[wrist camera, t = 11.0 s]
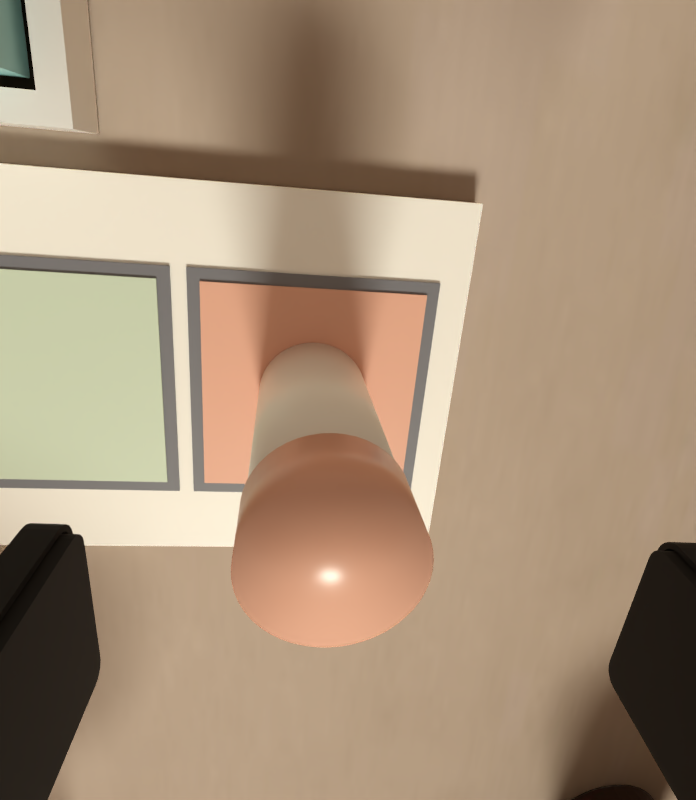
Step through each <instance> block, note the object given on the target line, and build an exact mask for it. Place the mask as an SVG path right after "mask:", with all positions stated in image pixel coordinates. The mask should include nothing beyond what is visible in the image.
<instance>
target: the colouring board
mask: <svg viewBox="0 0 696 800" xmlns="http://www.w3.org/2000/svg"><path fill="white" fill-rule="evenodd" d="M482 207H483V204H481V203H474V202H462V201H450V200H438V199H426V198H414V197H402V196H390V195H378V194H366V193H354V192H342V191H330V190H318V189H306V188H294V187H282V186H270V185H258V184H246V183H234V182H222V181H210V180H198V179H186V178H174V177H162V176H150V175H138V174H126V173H114V172H102V171H90V170H78V169H66V168H54V167H42V166H30V165H18V164H6V163H0V545H9V543H10V542H11V541H12V540H13V538H14V537H15V536H16V535H17V533H18V532H19V531H20V530H21V529H22V528H23V527H24V526H25V525H26V524H29V523H42V524H67V525H69V526H70V527H71V529H72V532H73V534H80V535H81V536H82V537H83V540H84V545H85V546H228V547H234V541H235V534H236V527H237V520H238V513H239V506H240V499H241V495H242V491H243V488H244V486H245V483H246V481H247V479H248V473H249V466H250V458H251V450H252V442H253V434H254V426H255V418H256V410H257V403H258V395H259V387H260V382H261V378H262V375H263V373H264V371H265V369H266V367H267V366H268V365H269V363H270V362H271V361H272V360H273V359H274V358H275V357H276V356H277V355H278V354H279V353H281V352H282V351H284V350H286V349H287V348H290V347H292V346H295V345H298V344H302V343H323V344H328V345H331V346H333V347H336V348H338V349H340V350H342V351H343V352H345V353H346V354H347V355H348V356H349V357H351V358H352V359H353V361H354V362H355V363H356V364H357V366H358V368H359V369H360V371H361V374H362V376H363V379H364V381H365V384H366V387H367V389H368V392H369V395H370V397H371V400H372V402H373V405H374V408H375V410H376V413H377V415H378V418H379V421H380V423H381V426H382V429H383V431H384V434H385V436H386V439H387V442H388V444H389V447H390V449H391V452H392V455H393V457H394V460H395V461H396V462H397V463H398V465H399V466H400V467H401V469H402V471H403V472H404V474H405V476H406V479H407V481H408V484H409V486H410V489H411V491H412V494H413V496H414V499H415V501H416V504H417V506H418V509H419V511H420V514H421V516H422V519H423V521H424V524H425V526H426V529H427V531H428V534H429V528H430V522H431V516H432V510H433V504H434V498H435V492H436V486H437V480H438V474H439V468H440V462H441V456H442V450H443V443H444V437H445V431H446V425H447V419H448V413H449V407H450V401H451V395H452V389H453V383H454V377H455V371H456V365H457V359H458V353H459V346H460V340H461V334H462V328H463V322H464V316H465V310H466V304H467V298H468V292H469V286H470V280H471V274H472V268H473V262H474V256H475V249H476V243H477V237H478V231H479V225H480V219H481V213H482Z"/></svg>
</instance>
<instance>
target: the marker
mask: <svg viewBox="0 0 696 800" xmlns="http://www.w3.org/2000/svg"><path fill="white" fill-rule="evenodd" d="M433 562H434V558H433V547H432V543H431V539H430V536H429V534H428V531H427V529H426V526H425V524H424V521H423V519H422V516H421V514H420V511H419V509H418V506H417V504H416V501H415V499H414V496H413V494H412V491H411V489H410V486H409V484H408V481H407V479H406V476H405V474H404V472H403V471H402V469H401V467H400V466H399V465H398V463H397V462H396V461H395V460H394V457H393V455H392V452H391V449H390V447H389V444H388V442H387V439H386V436H385V434H384V431H383V429H382V426H381V423H380V421H379V418H378V415H377V413H376V410H375V408H374V405H373V402H372V400H371V397H370V395H369V392H368V389H367V387H366V384H365V381H364V379H363V376H362V374H361V371H360V369H359V368H358V366H357V364H356V363H355V362H354V361H353V359H352V358H351V357H349V356H348V355H347V354H346V353H345V352H343V351H342V350H340V349H338V348H336V347H333V346H331V345H328V344H323V343H302V344H298V345H295V346H292V347H290V348H287V349H286V350H284V351H282V352H281V353H279V354H278V355H277V356H276V357H275V358H274V359H273V360H272V361H271V362H270V363H269V365H268V366H267V367H266V369H265V371H264V373H263V375H262V378H261V382H260V387H259V395H258V403H257V410H256V418H255V426H254V434H253V442H252V450H251V458H250V466H249V473H248V479H247V481H246V483H245V486H244V488H243V491H242V495H241V499H240V506H239V513H238V520H237V527H236V534H235V541H234V548H233V556H232V564H231V580H232V585H233V589H234V593H235V595H236V598H237V600H238V602H239V604H240V606H241V607H242V609H243V610H244V612H245V613H246V614H247V615H248V616H249V618H250V619H251V620H252V621H253V622H255V623H256V624H257V625H258V626H259V627H260V628H262V629H263V630H265V631H266V632H268V633H269V634H271V635H273V636H275V637H278V638H280V639H282V640H285V641H288V642H291V643H295V644H299V645H303V646H311V647H339V646H345V645H351V644H355V643H359V642H362V641H365V640H368V639H371V638H373V637H376V636H378V635H380V634H382V633H384V632H386V631H387V630H389V629H390V628H392V627H394V626H395V625H397V624H398V623H399V622H400V621H402V620H403V619H404V618H405V617H406V616H407V615H408V614H409V613H410V612H411V611H412V610H413V609H414V608H415V607H416V605H417V604H418V603H419V601H420V600H421V598H422V597H423V595H424V593H425V592H426V589H427V587H428V585H429V582H430V579H431V575H432V571H433Z"/></svg>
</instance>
